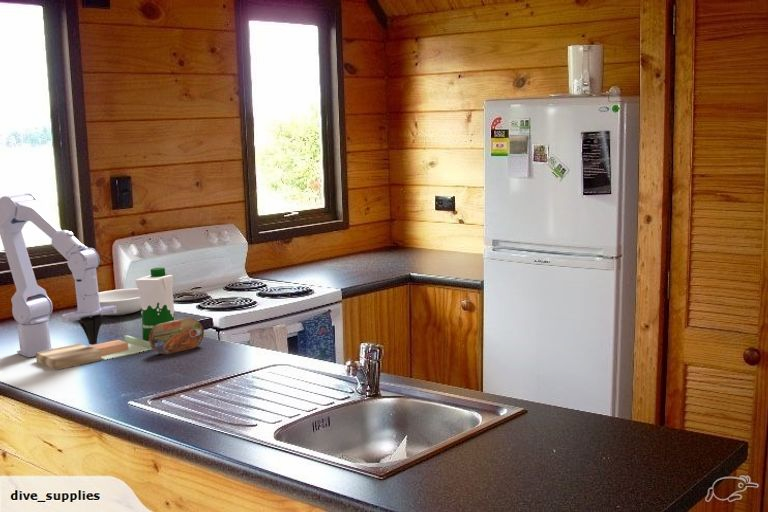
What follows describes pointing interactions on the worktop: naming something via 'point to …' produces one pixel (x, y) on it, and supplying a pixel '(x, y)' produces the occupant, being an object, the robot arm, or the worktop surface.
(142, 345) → the mat
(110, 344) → the tile
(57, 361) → the wooden board
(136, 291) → the soup bowl
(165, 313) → the milk carton
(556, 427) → the worktop surface
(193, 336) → the tin
